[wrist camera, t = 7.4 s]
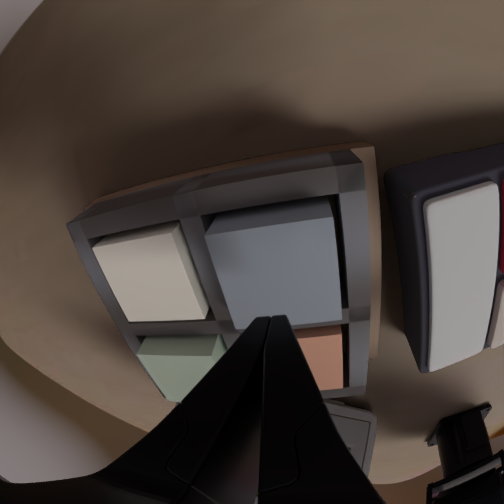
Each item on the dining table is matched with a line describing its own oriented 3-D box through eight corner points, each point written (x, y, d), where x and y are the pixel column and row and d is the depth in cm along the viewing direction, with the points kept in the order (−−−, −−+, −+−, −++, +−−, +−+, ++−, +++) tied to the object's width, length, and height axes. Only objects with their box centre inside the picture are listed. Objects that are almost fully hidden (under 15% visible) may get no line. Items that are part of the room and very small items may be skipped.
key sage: (242, 373, 16) (235, 405, 14) (179, 372, 17) (168, 400, 15) (222, 322, 14) (211, 356, 12) (152, 325, 15) (136, 354, 13)
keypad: (373, 340, 17) (383, 391, 14) (170, 353, 20) (151, 396, 17) (365, 141, 12) (392, 159, 8) (97, 197, 15) (53, 228, 11)
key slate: (337, 284, 12) (342, 319, 10) (244, 295, 13) (235, 329, 11) (326, 193, 10) (332, 216, 8) (220, 210, 11) (204, 235, 9)
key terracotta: (340, 356, 15) (342, 387, 13) (269, 362, 16) (265, 393, 14) (337, 301, 14) (341, 333, 12) (254, 310, 14) (247, 342, 13)
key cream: (216, 288, 14) (204, 318, 12) (146, 294, 15) (128, 321, 13) (190, 209, 12) (171, 232, 10) (117, 226, 13) (91, 248, 11)
